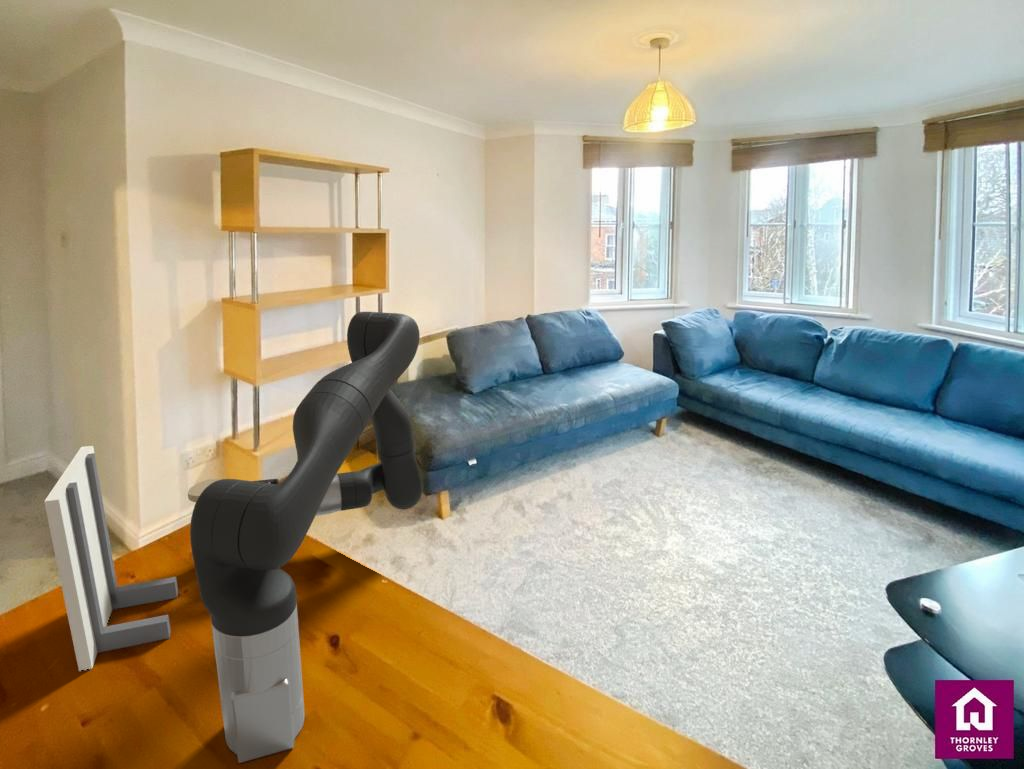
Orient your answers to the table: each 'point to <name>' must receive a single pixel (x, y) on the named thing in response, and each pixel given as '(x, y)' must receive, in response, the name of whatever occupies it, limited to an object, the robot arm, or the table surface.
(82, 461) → the rack
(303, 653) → the table surface
